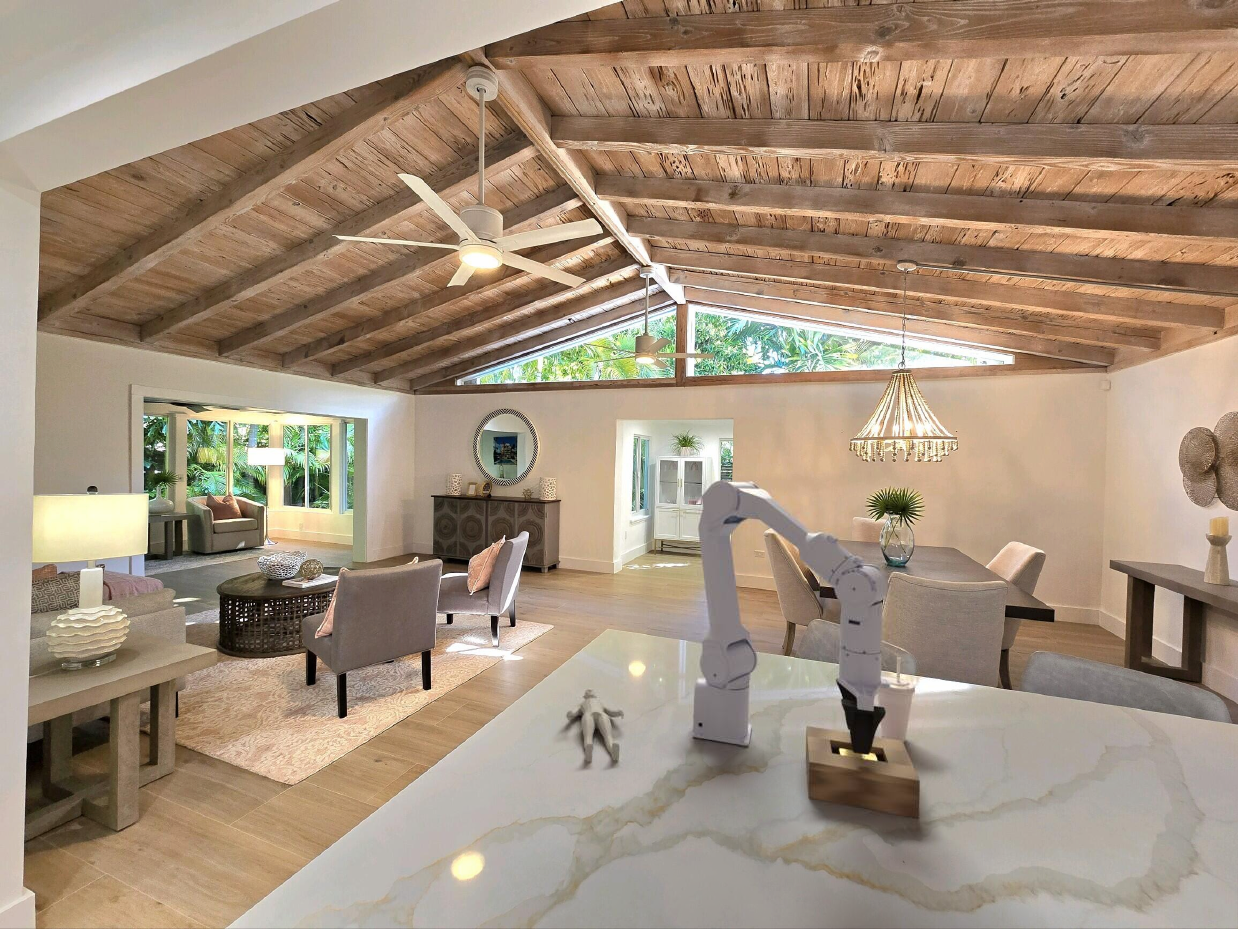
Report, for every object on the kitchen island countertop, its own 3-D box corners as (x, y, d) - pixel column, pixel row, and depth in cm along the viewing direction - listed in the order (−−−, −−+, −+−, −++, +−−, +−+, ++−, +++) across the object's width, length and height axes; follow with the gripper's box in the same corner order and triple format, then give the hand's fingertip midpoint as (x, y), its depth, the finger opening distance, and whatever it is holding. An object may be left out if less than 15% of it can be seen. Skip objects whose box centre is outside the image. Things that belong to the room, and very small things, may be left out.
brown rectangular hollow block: (808, 797, 79) (809, 761, 79) (805, 757, 90) (806, 726, 90) (918, 818, 75) (919, 780, 75) (901, 773, 86) (902, 740, 86)
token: (840, 787, 82) (840, 756, 82) (838, 778, 84) (839, 748, 84) (877, 793, 80) (878, 762, 80) (874, 784, 83) (874, 753, 83)
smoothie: (919, 748, 94) (921, 665, 95) (878, 743, 96) (880, 661, 96) (907, 731, 101) (909, 653, 101) (869, 727, 102) (871, 650, 102)
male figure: (570, 739, 86) (563, 685, 108) (569, 765, 86) (562, 705, 108) (634, 737, 88) (614, 684, 109) (634, 762, 88) (614, 704, 109)
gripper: (899, 667, 75) (896, 770, 74) (882, 638, 88) (879, 724, 88) (842, 660, 77) (840, 760, 76) (834, 633, 91) (832, 717, 90)
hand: (857, 740), depth 82 cm, fingers open, 7 cm apart
